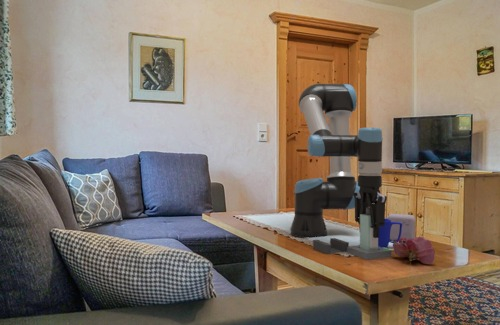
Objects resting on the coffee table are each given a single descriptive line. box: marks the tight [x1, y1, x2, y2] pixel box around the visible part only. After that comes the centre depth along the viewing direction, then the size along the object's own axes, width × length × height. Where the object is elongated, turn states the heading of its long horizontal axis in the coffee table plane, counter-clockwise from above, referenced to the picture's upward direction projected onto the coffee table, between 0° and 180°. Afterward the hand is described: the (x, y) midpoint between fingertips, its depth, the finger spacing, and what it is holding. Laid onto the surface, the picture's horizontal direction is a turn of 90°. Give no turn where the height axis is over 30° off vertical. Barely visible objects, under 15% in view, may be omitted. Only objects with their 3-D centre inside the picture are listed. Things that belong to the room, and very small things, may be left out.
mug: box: [378, 218, 402, 249], centre depth 142 cm, size 8×12×10 cm
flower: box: [392, 236, 436, 265], centre depth 122 cm, size 11×10×10 cm
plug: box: [359, 207, 378, 251], centre depth 129 cm, size 4×4×14 cm
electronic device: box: [386, 213, 416, 241], centre depth 153 cm, size 10×5×10 cm, turn 63°
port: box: [346, 244, 393, 261], centre depth 129 cm, size 10×10×3 cm
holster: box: [312, 237, 350, 255], centre depth 135 cm, size 8×9×4 cm
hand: (368, 245), depth 129 cm, fingers closed on plug, 4 cm apart
